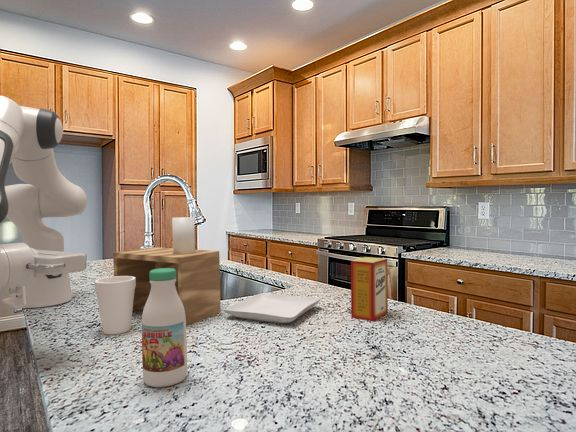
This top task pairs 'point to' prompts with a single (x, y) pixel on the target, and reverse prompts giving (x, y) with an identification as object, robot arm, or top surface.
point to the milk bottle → (163, 332)
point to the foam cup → (115, 302)
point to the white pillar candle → (183, 235)
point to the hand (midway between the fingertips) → (80, 256)
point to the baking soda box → (369, 288)
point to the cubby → (189, 277)
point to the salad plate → (272, 307)
